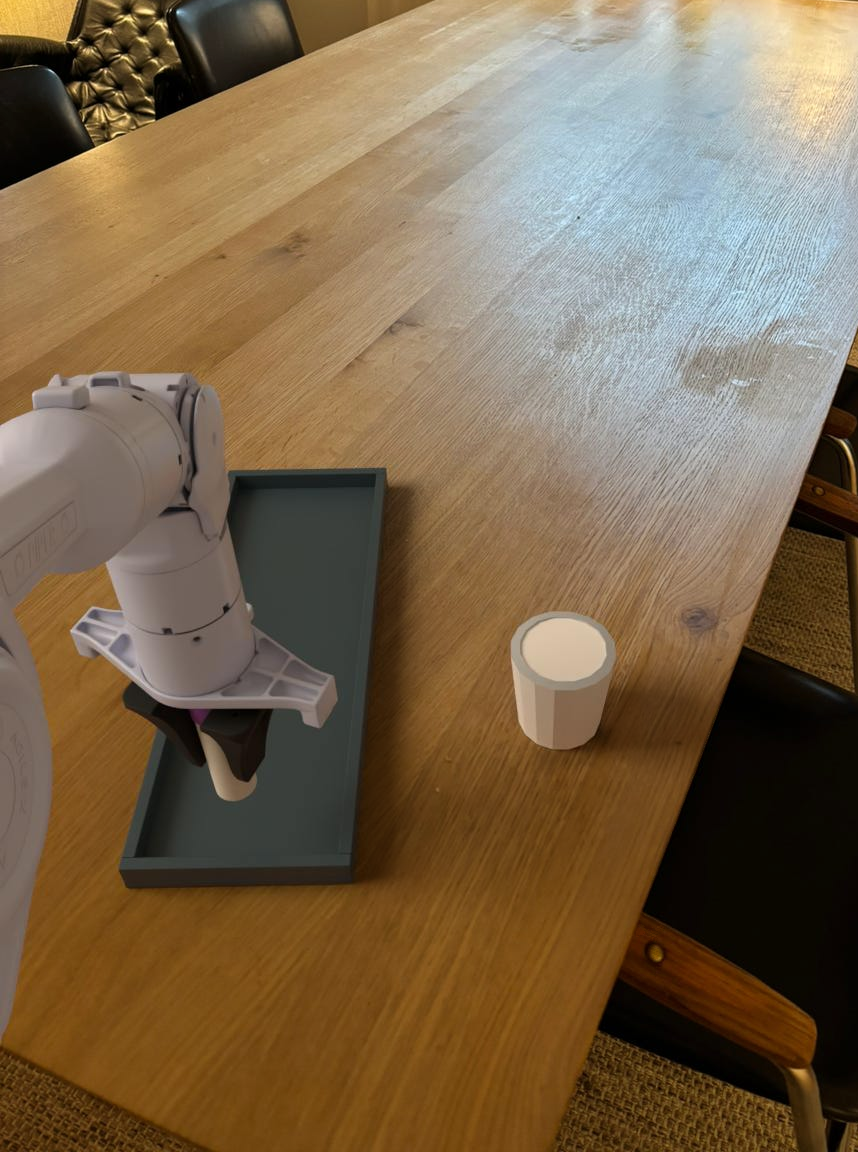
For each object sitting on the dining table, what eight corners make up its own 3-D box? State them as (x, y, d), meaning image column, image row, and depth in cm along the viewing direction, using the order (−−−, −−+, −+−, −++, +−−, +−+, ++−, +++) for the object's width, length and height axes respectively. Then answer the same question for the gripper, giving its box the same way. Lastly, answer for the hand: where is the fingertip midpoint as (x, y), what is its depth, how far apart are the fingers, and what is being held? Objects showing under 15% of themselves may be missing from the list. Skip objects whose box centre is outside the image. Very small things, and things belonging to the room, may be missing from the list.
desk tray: (353, 884, 61) (350, 865, 60) (125, 888, 61) (117, 869, 60) (387, 486, 90) (386, 467, 88) (232, 488, 90) (228, 470, 88)
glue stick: (244, 808, 59) (216, 709, 53) (205, 795, 60) (173, 696, 54) (266, 772, 61) (242, 673, 55) (228, 760, 61) (200, 660, 56)
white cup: (489, 726, 70) (489, 658, 65) (543, 663, 74) (546, 595, 70) (576, 774, 67) (582, 706, 62) (626, 705, 71) (635, 637, 67)
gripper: (352, 572, 51) (374, 741, 59) (105, 508, 54) (160, 675, 63) (283, 677, 46) (318, 843, 54) (17, 598, 49) (90, 766, 58)
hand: (229, 760), depth 59 cm, fingers closed on glue stick, 2 cm apart
